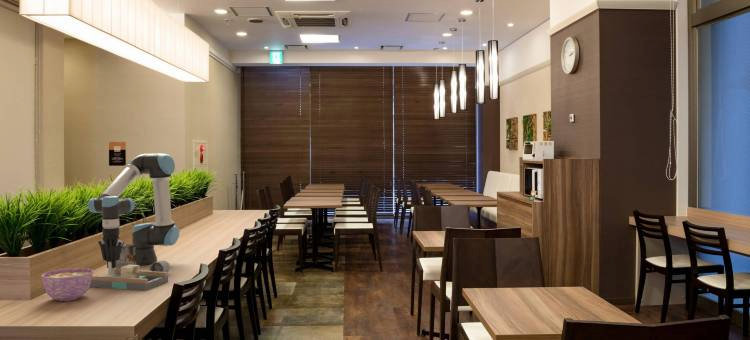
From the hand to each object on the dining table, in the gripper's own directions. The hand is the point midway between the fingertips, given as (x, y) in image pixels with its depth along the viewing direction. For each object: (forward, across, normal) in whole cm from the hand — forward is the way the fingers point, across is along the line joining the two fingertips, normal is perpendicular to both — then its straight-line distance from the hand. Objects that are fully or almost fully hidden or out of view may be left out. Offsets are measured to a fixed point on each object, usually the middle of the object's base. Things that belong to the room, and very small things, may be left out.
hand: (111, 274), depth 262 cm
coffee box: (+5, -3, +15) cm, 16 cm away
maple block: (+1, +11, -1) cm, 11 cm away
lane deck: (+4, +10, 0) cm, 11 cm away
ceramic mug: (+5, +12, +20) cm, 24 cm away
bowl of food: (+4, +1, -29) cm, 30 cm away
